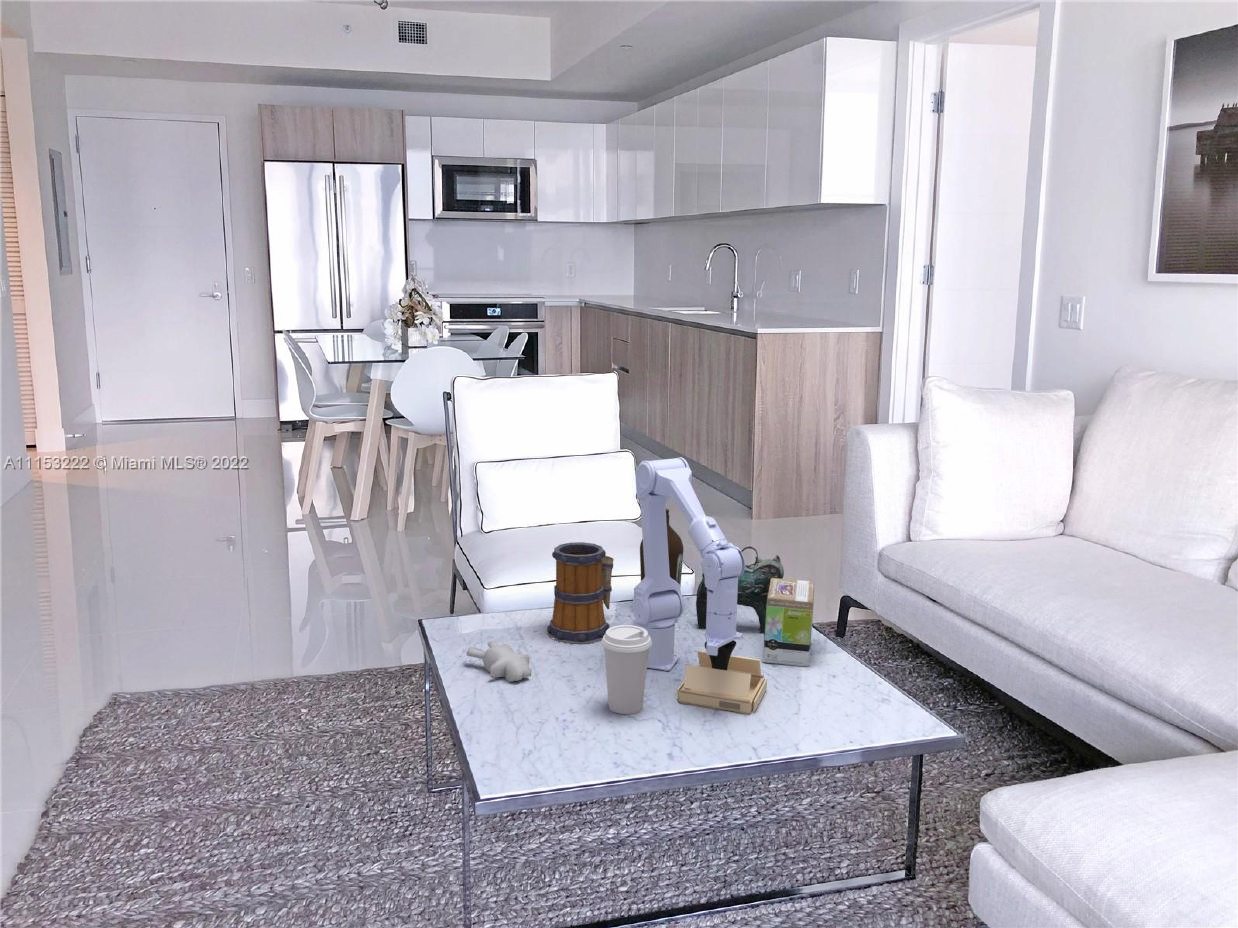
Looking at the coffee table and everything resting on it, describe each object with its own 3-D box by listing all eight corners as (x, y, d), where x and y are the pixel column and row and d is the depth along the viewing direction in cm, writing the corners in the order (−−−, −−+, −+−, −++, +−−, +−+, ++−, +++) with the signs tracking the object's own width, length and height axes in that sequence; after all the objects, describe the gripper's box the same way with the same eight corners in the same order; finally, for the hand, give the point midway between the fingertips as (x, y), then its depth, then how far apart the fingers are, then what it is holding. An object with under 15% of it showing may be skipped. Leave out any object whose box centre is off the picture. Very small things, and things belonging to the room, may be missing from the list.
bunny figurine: (505, 670, 196) (462, 641, 206) (504, 693, 198) (460, 663, 208) (543, 658, 203) (498, 630, 213) (541, 680, 204) (497, 652, 214)
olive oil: (638, 614, 240) (640, 514, 235) (638, 600, 251) (640, 503, 246) (682, 615, 240) (685, 515, 235) (681, 601, 250) (684, 504, 245)
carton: (675, 702, 192) (675, 688, 192) (693, 676, 204) (694, 663, 204) (753, 715, 187) (754, 701, 187) (767, 687, 199) (768, 674, 199)
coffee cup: (614, 721, 184) (615, 645, 181) (592, 701, 192) (592, 627, 189) (659, 711, 188) (661, 636, 185) (635, 692, 196) (637, 620, 193)
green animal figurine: (780, 627, 233) (785, 545, 229) (781, 637, 227) (785, 553, 223) (696, 622, 236) (698, 540, 232) (694, 631, 230) (696, 548, 226)
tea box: (810, 667, 210) (814, 601, 207) (762, 663, 212) (765, 597, 209) (811, 642, 224) (814, 579, 222) (766, 638, 226) (769, 576, 223)
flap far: (699, 665, 203) (697, 651, 200) (700, 664, 203) (697, 650, 200) (760, 674, 199) (759, 660, 196) (761, 673, 199) (759, 659, 196)
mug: (585, 612, 242) (586, 532, 238) (634, 625, 233) (636, 542, 229) (533, 634, 226) (533, 550, 222) (583, 649, 218) (584, 561, 214)
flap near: (683, 687, 192) (687, 664, 193) (683, 687, 192) (687, 664, 193) (747, 697, 187) (751, 674, 189) (748, 697, 188) (751, 674, 189)
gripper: (733, 625, 181) (731, 695, 184) (750, 601, 194) (747, 666, 197) (696, 620, 183) (694, 689, 186) (715, 596, 197) (713, 661, 199)
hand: (719, 677), depth 192 cm, fingers closed, pressing on flap near
